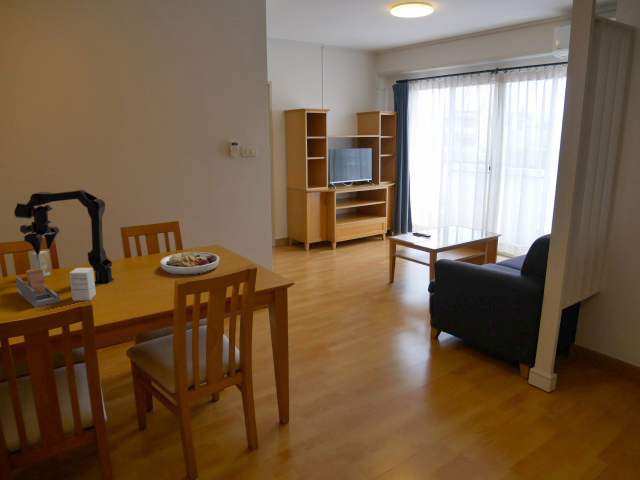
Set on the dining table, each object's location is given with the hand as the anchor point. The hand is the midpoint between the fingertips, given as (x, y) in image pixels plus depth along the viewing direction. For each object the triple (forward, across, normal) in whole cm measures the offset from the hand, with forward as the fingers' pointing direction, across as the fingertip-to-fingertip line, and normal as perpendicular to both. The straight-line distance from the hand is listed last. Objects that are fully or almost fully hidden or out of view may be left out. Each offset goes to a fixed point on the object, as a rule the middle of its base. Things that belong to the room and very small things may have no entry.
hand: (43, 251), depth 218 cm
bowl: (+12, -24, +63) cm, 69 cm away
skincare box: (+16, -7, -5) cm, 18 cm away
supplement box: (+12, +22, +29) cm, 39 cm away
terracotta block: (+12, +22, +9) cm, 26 cm away
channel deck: (+14, +21, +9) cm, 27 cm away
